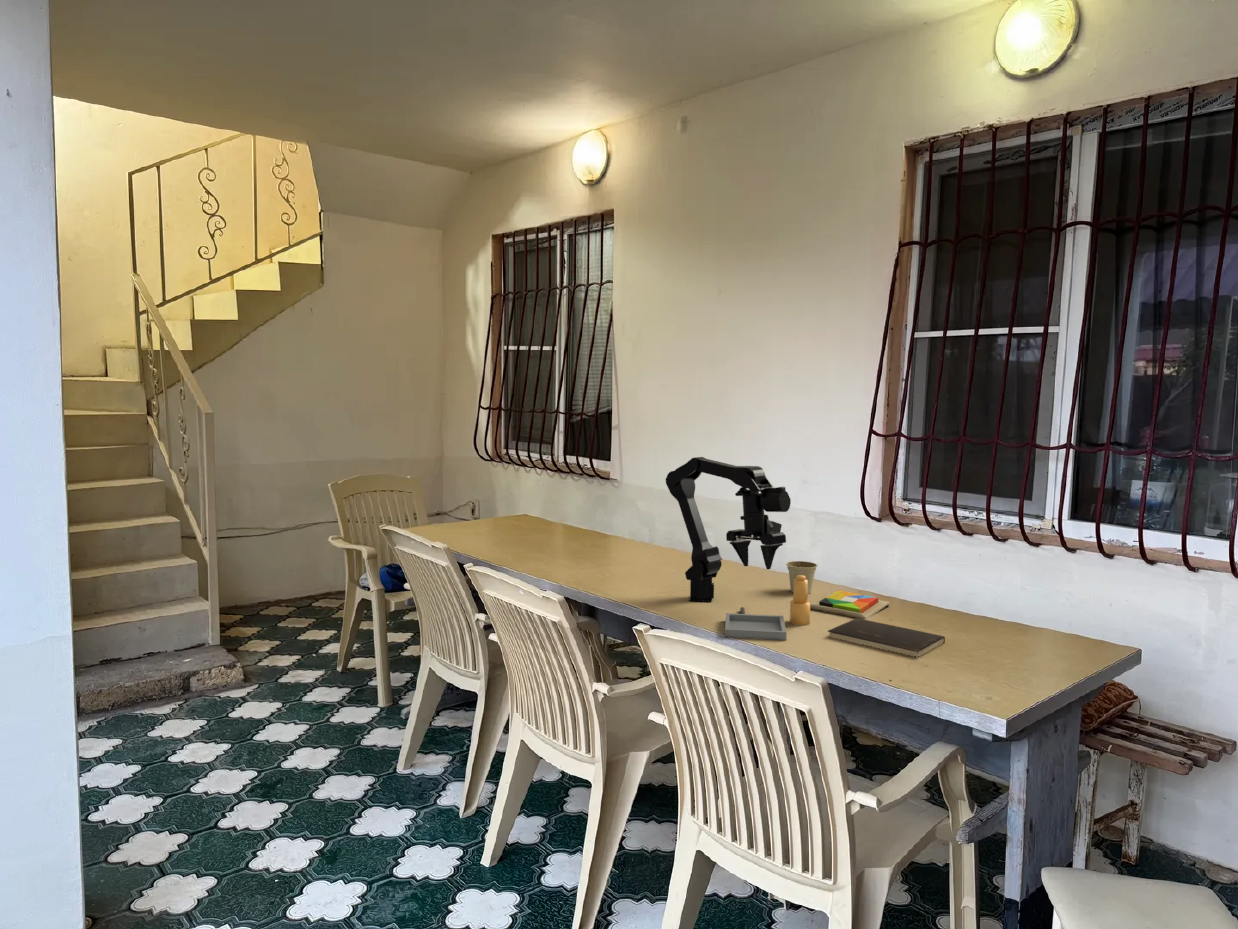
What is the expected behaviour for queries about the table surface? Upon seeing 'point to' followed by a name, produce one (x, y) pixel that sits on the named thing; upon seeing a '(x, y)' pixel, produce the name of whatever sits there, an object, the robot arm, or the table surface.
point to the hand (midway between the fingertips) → (757, 567)
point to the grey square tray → (755, 626)
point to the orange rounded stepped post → (800, 602)
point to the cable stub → (742, 610)
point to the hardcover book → (887, 637)
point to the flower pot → (801, 572)
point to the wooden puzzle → (850, 604)
